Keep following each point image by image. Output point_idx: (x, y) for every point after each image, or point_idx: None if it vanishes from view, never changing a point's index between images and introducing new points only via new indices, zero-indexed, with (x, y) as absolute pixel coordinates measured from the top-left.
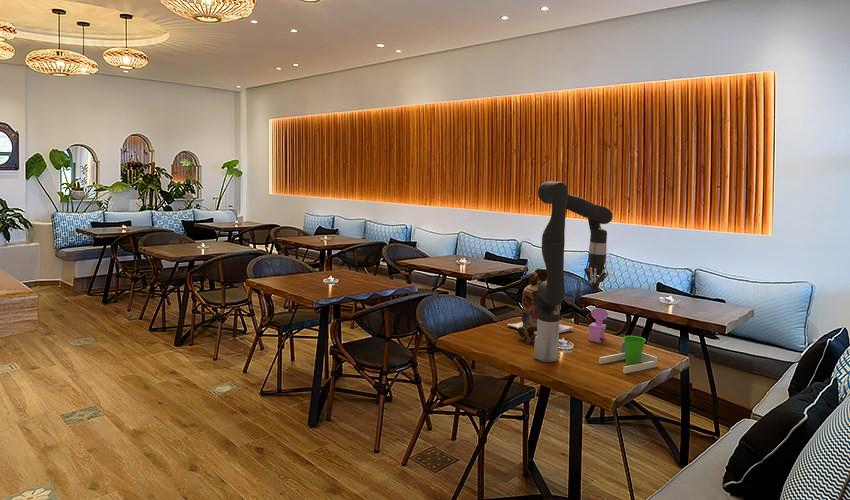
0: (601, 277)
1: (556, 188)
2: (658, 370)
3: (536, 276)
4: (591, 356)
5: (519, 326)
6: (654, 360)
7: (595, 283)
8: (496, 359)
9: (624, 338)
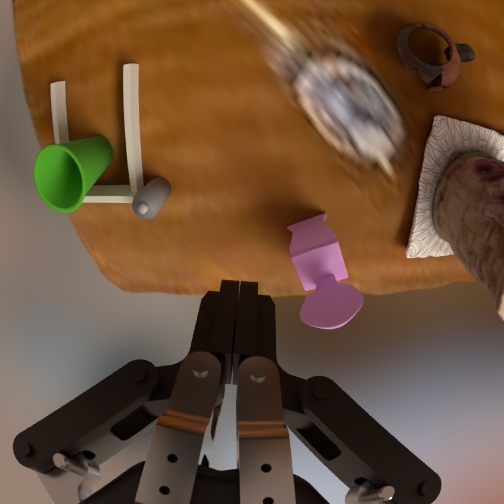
0: (66, 413)
1: None
2: None
3: None
4: (196, 86)
5: (501, 151)
6: None
7: (207, 353)
8: None
9: (66, 151)
